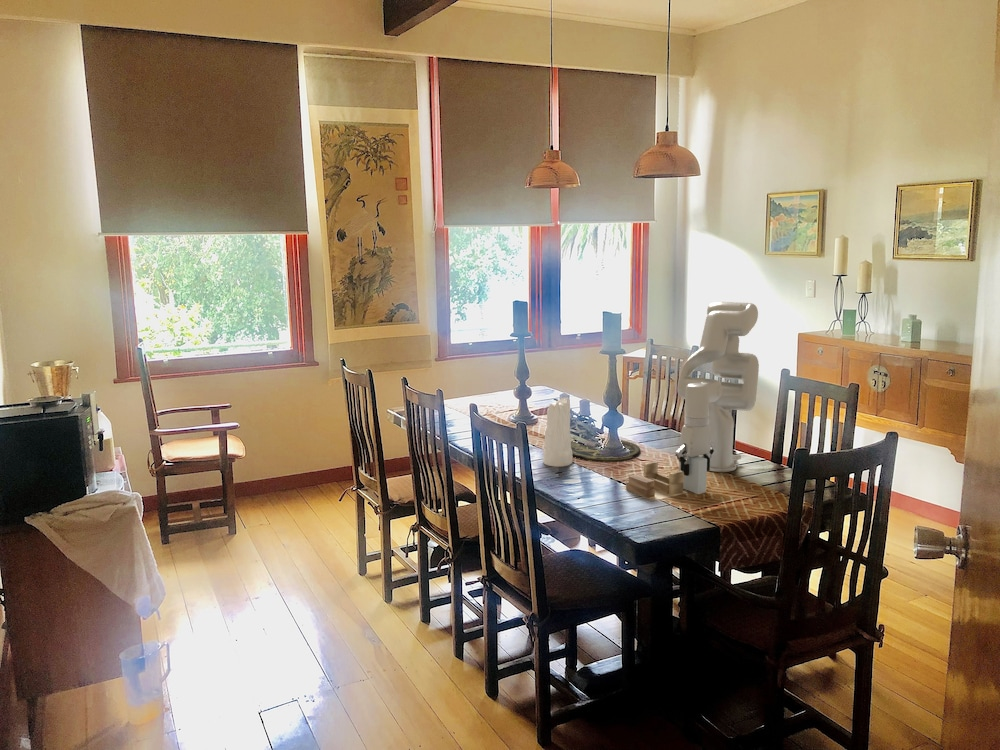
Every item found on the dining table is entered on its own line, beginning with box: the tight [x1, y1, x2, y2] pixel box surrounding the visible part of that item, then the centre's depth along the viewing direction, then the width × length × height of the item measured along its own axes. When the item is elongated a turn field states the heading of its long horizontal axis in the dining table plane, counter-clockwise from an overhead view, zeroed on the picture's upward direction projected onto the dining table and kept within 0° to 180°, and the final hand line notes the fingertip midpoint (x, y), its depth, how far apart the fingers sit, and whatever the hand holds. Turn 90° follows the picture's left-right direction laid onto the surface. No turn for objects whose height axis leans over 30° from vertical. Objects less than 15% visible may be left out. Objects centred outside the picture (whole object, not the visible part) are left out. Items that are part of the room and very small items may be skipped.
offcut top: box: [628, 474, 654, 490], centre depth 252 cm, size 4×8×2 cm, turn 34°
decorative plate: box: [571, 437, 641, 463], centre depth 307 cm, size 30×2×30 cm
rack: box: [620, 460, 688, 502], centre depth 255 cm, size 15×16×8 cm
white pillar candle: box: [542, 396, 573, 468], centre depth 290 cm, size 11×11×25 cm
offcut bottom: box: [625, 481, 655, 499], centre depth 253 cm, size 4×10×2 cm, turn 30°
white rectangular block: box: [678, 455, 708, 495], centre depth 255 cm, size 4×9×12 cm, turn 30°
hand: (695, 471), depth 256 cm, fingers open, 9 cm apart
